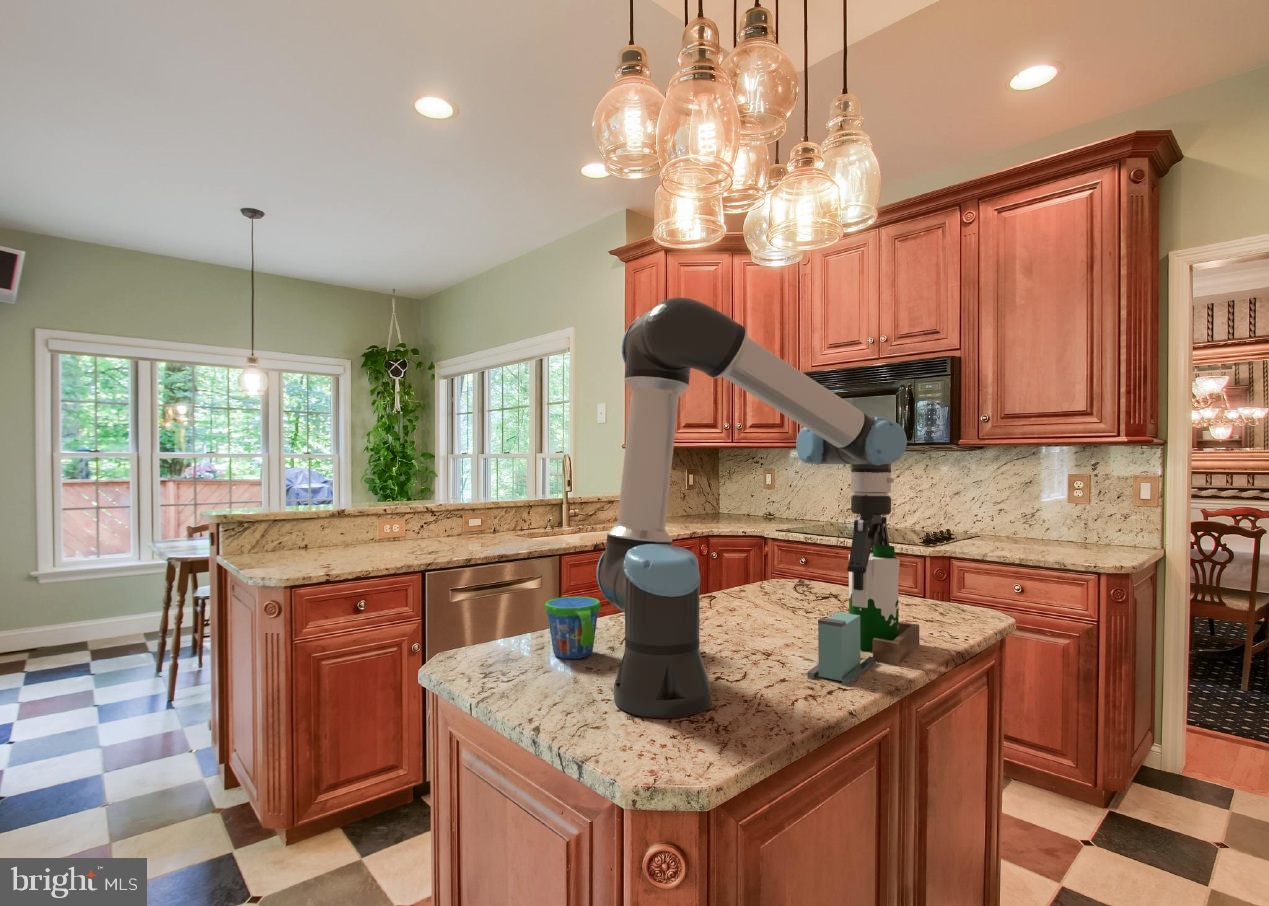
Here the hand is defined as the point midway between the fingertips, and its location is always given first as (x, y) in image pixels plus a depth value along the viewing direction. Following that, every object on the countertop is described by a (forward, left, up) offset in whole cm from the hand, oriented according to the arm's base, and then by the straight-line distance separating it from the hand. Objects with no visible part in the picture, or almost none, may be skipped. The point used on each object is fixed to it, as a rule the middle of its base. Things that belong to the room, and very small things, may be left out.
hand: (870, 600), depth 126 cm
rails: (0, -17, -9) cm, 20 cm away
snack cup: (-45, -39, -9) cm, 60 cm away
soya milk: (0, +1, -9) cm, 9 cm away
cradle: (0, -1, -9) cm, 9 cm away
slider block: (0, -19, -9) cm, 21 cm away
